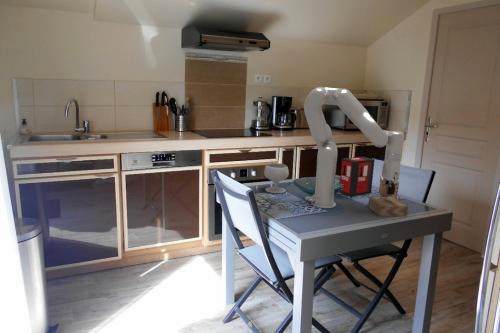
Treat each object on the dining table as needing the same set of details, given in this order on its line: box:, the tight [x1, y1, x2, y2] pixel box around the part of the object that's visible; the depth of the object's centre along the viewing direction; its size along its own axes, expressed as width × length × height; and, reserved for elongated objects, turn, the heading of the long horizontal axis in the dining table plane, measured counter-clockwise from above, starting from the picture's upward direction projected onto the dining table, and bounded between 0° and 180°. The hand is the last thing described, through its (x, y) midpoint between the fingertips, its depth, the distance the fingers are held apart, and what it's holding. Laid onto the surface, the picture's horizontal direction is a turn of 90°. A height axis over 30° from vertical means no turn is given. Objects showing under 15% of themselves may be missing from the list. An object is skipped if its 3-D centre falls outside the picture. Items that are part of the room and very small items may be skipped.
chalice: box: [263, 162, 290, 194], centre depth 218 cm, size 14×14×15 cm
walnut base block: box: [367, 196, 409, 217], centre depth 191 cm, size 14×14×5 cm
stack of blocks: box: [378, 175, 400, 199], centre depth 214 cm, size 21×6×12 cm, turn 170°
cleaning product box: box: [338, 156, 376, 198], centre depth 219 cm, size 16×9×20 cm, turn 120°
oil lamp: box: [379, 184, 397, 197], centre depth 189 cm, size 9×4×8 cm, turn 107°
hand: (388, 192), depth 189 cm, fingers closed on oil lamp, 4 cm apart
